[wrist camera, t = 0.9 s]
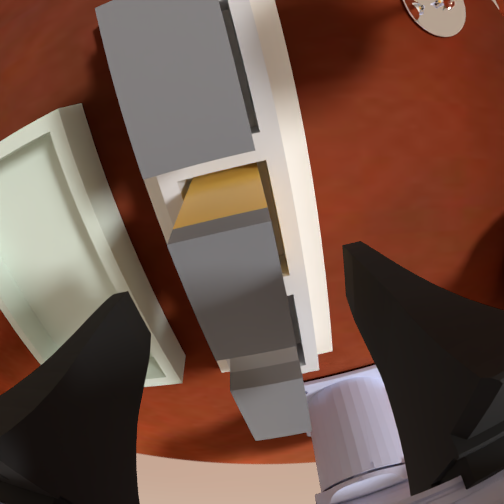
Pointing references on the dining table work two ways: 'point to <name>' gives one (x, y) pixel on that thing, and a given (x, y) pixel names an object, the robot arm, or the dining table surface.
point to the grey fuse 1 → (175, 82)
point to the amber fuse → (232, 264)
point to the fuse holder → (269, 171)
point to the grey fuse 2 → (271, 393)
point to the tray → (69, 243)
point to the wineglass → (441, 15)
